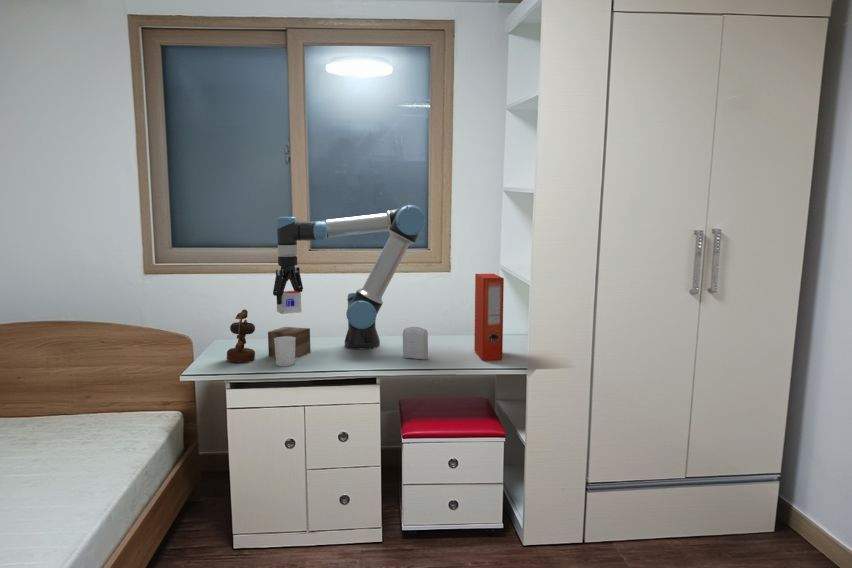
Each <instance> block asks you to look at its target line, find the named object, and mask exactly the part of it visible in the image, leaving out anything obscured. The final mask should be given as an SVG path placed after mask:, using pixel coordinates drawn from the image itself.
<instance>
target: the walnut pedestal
mask: <svg viewBox="0 0 852 568" xmlns="http://www.w3.org/2000/svg"><path fill="white" fill-rule="evenodd" d="M283 336H291V337H295V338H296V340H295V359H297V358H299V357H303V356H305V355H308V354H310V353H311V328H310V327H309V328H308V327H295V326H294V327H292V326H282V327H279V328H276V329H273V330H270V331H267V341H268V342H267V344H268V357H269V356H270V358H276V355H275V343H274V338H277V337H283ZM307 353H308V354H307Z"/></svg>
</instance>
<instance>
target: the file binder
mask: <svg viewBox="0 0 852 568" xmlns="http://www.w3.org/2000/svg"><path fill="white" fill-rule="evenodd" d="M474 276H475V277H474V280H475V281H474V283H475V284H474V288H475V289H474V344H473V345H474V347H473V349H474V352H475V353H476V355H477V356H478V357H479V358H480V360H481V361H483V362H488V361H489V362H492V361H495V362H497V361H502V360H503V350H504V349H503V347H504V346H503V345H504V344H503V341H504V339H503V337H504V336H503V335H504V334H503V332H504V289H505V288H504V284H505V283H504V282H505V281H504V279H505V278H504V277H501V276H500V275H498V274H495V273H475V275H474Z"/></svg>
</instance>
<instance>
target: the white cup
mask: <svg viewBox="0 0 852 568" xmlns="http://www.w3.org/2000/svg"><path fill="white" fill-rule="evenodd" d="M295 340H296V338H295V337H291V336H283V337H277V338H274V343H275V355H276V357H275V362H276V365H277V366H279V367H290V366H294V365H295V364H296V363H295V361H296V358H295Z"/></svg>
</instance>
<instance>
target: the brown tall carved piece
mask: <svg viewBox="0 0 852 568" xmlns="http://www.w3.org/2000/svg"><path fill="white" fill-rule="evenodd" d="M248 314H249V312H248V310H247V309H246V308H244V309H242V310H241V311H240V312H238V313H237V315H236V316H235V318H234V319H235V320H239V321H237V322H232V323H231V325H230V326H229V330H230V332H231V333H232V334H233V335H236V339H238V340H237V343H236V344H235V346H234V347H232V348H229V349H228V350H227V351H226V360H227V361H228V362H233V363H251V362H254V361H255V360H256V359H255V358H256V351H255V350H254V349H252V348H249V347H245V345H246V343H247V340H246V336H247V335H253V333H255V331H256V325H255V324H254V323H252V322H248V320H247V318H248ZM243 320H244V321H243Z"/></svg>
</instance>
